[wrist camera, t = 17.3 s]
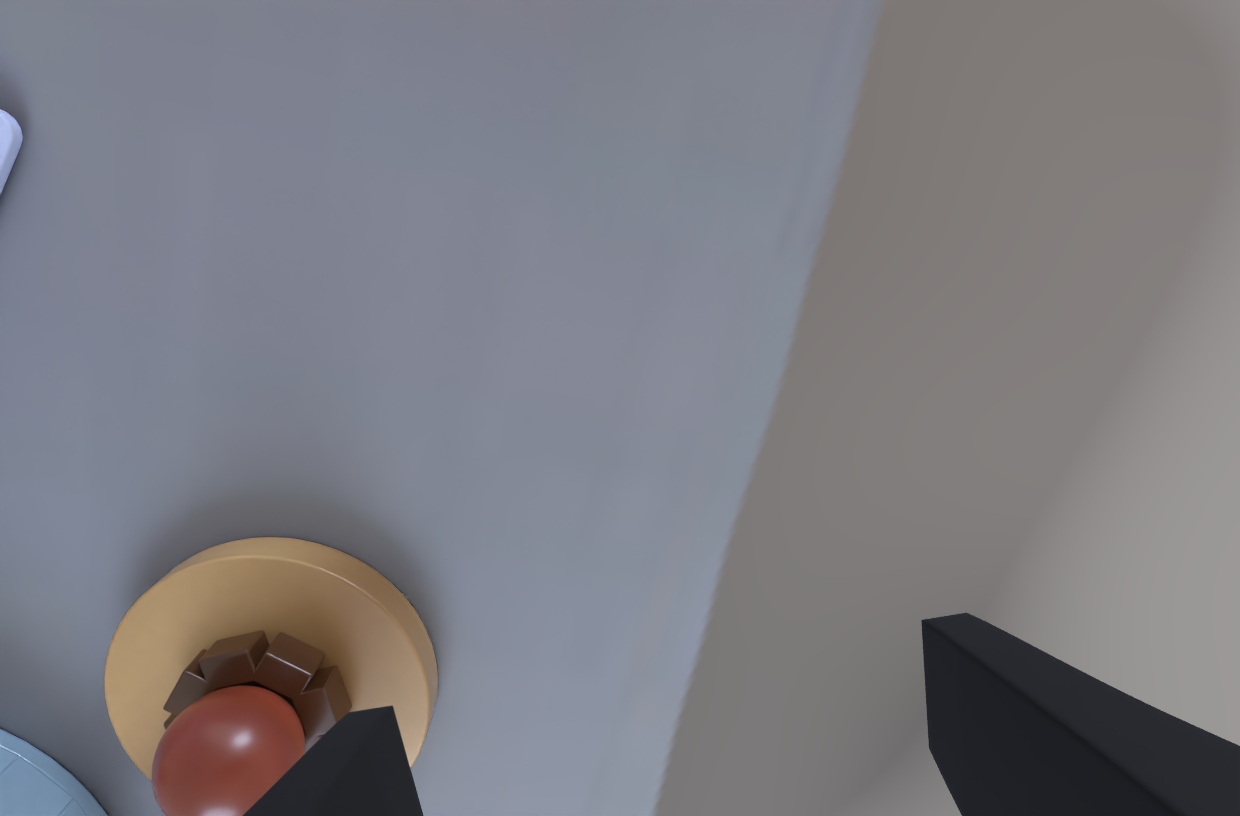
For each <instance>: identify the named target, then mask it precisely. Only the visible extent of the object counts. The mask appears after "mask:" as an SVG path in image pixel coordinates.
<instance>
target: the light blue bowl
mask: <svg viewBox="0 0 1240 816" xmlns="http://www.w3.org/2000/svg"><path fill="white" fill-rule="evenodd" d="M0 816H108V815H107V814H106V812H105V811H104V810H103V808H102V807H101V806H100V805H99V803H98V802H97V801H96V799H95V798H94V797H93V795H92V794H91V793H90V792H89V791H88V790H87V789H86V788H85V787H84V786H83V785H82V784H81V783H80V782H79V781H78V780H77V779H76V778H75V777H74V776H73V775H72V774H71V773H70V772H68V771H67V770H66V769H65V768H63V767H62V766H61V765H60V764H58V763H57V762H56V761H55V760H53V759H52V758H51V757H49V756H48V755H46V754H45V753H43V752H42V751H40V750H38V749H37V748H35V747H34V746H32V745H31V744H29V743H28V742H26V741H24V740H22V739H20V738H18V737H16V736H14V735H12V734H10V733H8V732H6V731H4V730H2V729H0Z"/></svg>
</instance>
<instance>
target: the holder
mask: <svg viewBox="0 0 1240 816" xmlns="http://www.w3.org/2000/svg"><path fill="white" fill-rule="evenodd" d="M232 686H255V687H260V688H264V689H267V690H269V691H272V692H274V693H276V694H277V695H279V696H280V697H282V698H283V699H284V700H286V701H287V702H288V703H289V704H290V705H291V706H292V708H293V709H294V711H295V712H296V714H297V716H298V717H299V719H300V722H301V724H302V727H303V732H304V736H305V753H306V752H307V751H308V750H309V749H310V748H311V747H312V746H313V745H314V744H315V743H316V742H317V741H318V740H319V739H320V738H321V737H322V736H323V735H324V734H325V733H326V732H327V731H328V730H330V729H331V728H332V727H333V726H334V725H335V724H336V723H337V722H338V721H339V720H340V719H342V718H343V717H344V716H345V715H346V714H347V713H348V712H354V711H360V710H366V709H372V708H379V707H385V706H391V705H393V708H394V712H395V715H396V719H397V722H398V726H399V730H400V733H401V737H402V740H403V744H404V748H405V751H406V755H407V759H408V762H409V766H410V769H411V768H412V766H413V765H414V763H415V761H416V759H417V757H418V756H419V754H420V752H421V749H422V746H423V744H424V741H425V738H426V735H427V732H428V729H429V726H430V723H431V719H432V716H433V713H434V709H435V704H436V699H437V690H438V673H437V663H436V658H435V654H434V650H433V646H432V643H431V641H430V638H429V636H428V633H427V631H426V628H425V626H424V624H423V623H422V621H421V619H420V617H419V616H418V614H417V612H416V611H415V609H414V608H413V607H412V605H411V604H410V603H409V602H408V600H407V599H406V598H405V596H404V595H403V594H402V593H401V592H400V591H399V590H398V589H397V588H396V587H395V586H394V585H393V584H392V583H391V582H390V581H389V580H387V579H386V578H385V577H384V576H382V575H381V574H380V573H378V572H377V571H376V570H375V569H373V568H372V567H370V566H368V565H367V564H365V563H363V562H362V561H360V560H358V559H357V558H355V557H353V556H350V555H348V554H346V553H344V552H342V551H339V550H337V549H334V548H331V547H328V546H325V545H322V544H319V543H315V542H310V541H305V540H300V539H294V538H282V537H259V538H248V539H242V540H236V541H230V542H227V543H224V544H220V545H217V546H213V547H211V548H208V549H206V550H204V551H202V552H199V553H197V554H195V555H193V556H191V557H190V558H188V559H187V560H185V561H183V562H182V563H180V564H178V565H177V566H176V567H175V568H173V569H172V570H171V571H170V572H169V573H167V574H166V575H165V576H164V577H163V578H162V579H160V580H159V581H158V582H157V583H156V584H154V585H153V586H152V587H151V588H150V589H149V590H147V591H146V592H145V593H144V594H143V595H142V596H140V597H139V599H138V600H137V601H136V602H135V603H134V604H133V605H132V607H131V608H130V609H129V610H128V611H127V613H126V614H125V616H124V617H123V619H122V621H121V622H120V624H119V625H118V627H117V629H116V632H115V634H114V636H113V639H112V641H111V643H110V647H109V651H108V655H107V659H106V663H105V674H104V689H105V700H106V705H107V709H108V713H109V717H110V720H111V723H112V725H113V728H114V730H115V733H116V735H117V737H118V739H119V741H120V742H121V744H122V746H123V748H124V750H125V751H126V753H127V754H128V756H129V757H130V758H131V760H132V761H133V762H134V764H135V765H136V766H137V768H138V769H139V770H140V771H141V772H142V773H143V774H144V775H145V776H146V777H147V778H148V779H149V780H150V781H151V782H152V764H153V760H154V756H155V752H156V749H157V747H158V744H159V742H160V740H161V738H162V736H163V734H164V732H165V731H166V729H167V728H168V726H169V725H170V724H171V722H172V721H173V720H174V719H175V718H176V717H177V716H178V715H179V714H180V713H181V712H182V711H183V710H184V709H185V708H186V707H187V706H189V705H190V704H191V703H193V702H194V701H196V700H197V699H199V698H201V697H203V696H205V695H207V694H209V693H211V692H213V691H216V690H219V689H222V688H227V687H232Z"/></svg>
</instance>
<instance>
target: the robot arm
mask: <svg viewBox="0 0 1240 816" xmlns="http://www.w3.org/2000/svg"><path fill="white" fill-rule="evenodd" d="M22 139H23V136H22V132H21V128H20V126H19V124H18V123H17V121H16V120H15V119H14V118H13V117H12V116H11V115H9V114H8V113H7V112H5V111H3V110H2V109H0V195H1V193H2V190H3V188H4V185H5V183H6V181H7V178H8V176H9V174H10V171H11V169H12V166H13V164H14V162H15V159H16V157H17V155H18V152H19V150H20V147H21V144H22ZM922 636H923V653H924V670H925V686H926V704H927V720H928V738H929V749H930V751H931V753H932V755H933V757H934V760H935V762H936V764H937V766H938V768H939V770H940V772H941V774H942V776H943V778H944V781H945V783H946V785H947V787H948V789H949V791H950V793H951V794H952V797H953V799H954V801H955V803H956V805H957V807H958V809H959V811H960V813H961V815H962V816H1240V746H1239V745H1236V744H1234V743H1232V742H1230V741H1227V740H1225V739H1223V738H1220V737H1218V736H1216V735H1214V734H1212V733H1209V732H1207V731H1205V730H1203V729H1200V728H1198V727H1196V726H1194V725H1191V724H1190V723H1187V722H1185V721H1183V720H1181V719H1178V718H1176V717H1174V716H1172V715H1170V714H1167V713H1165V712H1163V711H1161V710H1159V709H1157V708H1155V707H1152V706H1151V705H1148V704H1146V703H1144V702H1142V701H1140V700H1138V699H1136V698H1134V697H1132V696H1130V695H1128V694H1126V693H1124V692H1122V691H1120V690H1118V689H1116V688H1114V687H1112V686H1109V685H1107V684H1106V683H1104V682H1101V681H1099V680H1098V679H1096V678H1094V677H1092V676H1090V675H1088V674H1086V673H1084V672H1082V671H1080V670H1078V669H1076V668H1074V667H1072V666H1070V665H1068V664H1066V663H1064V662H1063V661H1061V660H1059V659H1056V658H1055V657H1053V656H1051V655H1049V654H1047V653H1045V652H1043V651H1042V650H1039V649H1038V648H1036V647H1034V646H1032V645H1030V644H1028V643H1026V642H1024V641H1022V640H1021V639H1019V638H1017V637H1015V636H1013V635H1011V634H1009V633H1007V632H1005V631H1003V630H1001V629H999V628H997V627H995V626H993V625H991V624H990V623H987V622H985V621H983V620H981V619H979V618H977V617H975V616H972V615H970V614H968V613H962V614H956V615H950V616H944V617H938V618H931V619H925V620H922ZM243 816H423V813H422V809H421V805H420V802H419V798H418V795H417V791H416V787H415V784H414V780H413V777H412V773H411V769H410V766H409V762H408V759H407V755H406V751H405V748H404V744H403V740H402V737H401V733H400V730H399V726H398V722H397V719H396V715H395V712H394V708H393V705H391V706H385V707H379V708H372V709H366V710H360V711H354V712H348V713H347V714H346V715H345V716H344V717H343V718H342V719H340V720H339V721H338V722H337V723H336V724H335V725H334V726H333V727H332V728H331V729H330V730H328V731H327V732H326V733H325V734H324V735H323V736H322V737H321V738H320V739H319V740H318V741H317V742H316V743H315V744H314V745H313V746H312V747H311V748H310V749H309V750H308V751H307V752H306V753H305V754H304V755H303V756H302V757H301V758H300V759H299V760H298V761H297V762H296V763H295V764H294V765H293V766H292V767H291V768H290V769H289V770H288V771H287V772H286V773H285V774H284V775H283V776H282V777H281V778H280V779H279V780H278V781H277V782H276V783H275V784H274V785H273V786H272V787H271V788H270V789H269V790H268V791H267V792H266V793H265V794H264V795H263V796H262V797H261V798H260V799H259V800H258V801H257V802H256V803H255V804H254V805H253V806H252V807H251V808H250V809H249V810H248V811H247V812H246V813H245V814H244V815H243Z"/></svg>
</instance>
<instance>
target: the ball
mask: <svg viewBox="0 0 1240 816" xmlns="http://www.w3.org/2000/svg"><path fill="white" fill-rule="evenodd" d="M304 754H305V736H304V732H303V727H302V724H301V722H300V719H299V717H298V716H297V714H296V712H295V711H294V709H293V708H292V706H291V705H290V704H289V703H288V702H287V701H286V700H284V699H283V698H282V697H280V696H279V695H277V694H276V693H274V692H272V691H269V690H267V689H264V688H260V687H255V686H232V687H227V688H222V689H219V690H216V691H213V692H211V693H209V694H207V695H205V696H203V697H201V698H199V699H197V700H196V701H194V702H193V703H191V704H190V705H189V706H187V707H186V708H185V709H184V710H183V711H182V712H181V713H180V714H179V715H178V716H177V717H176V718H175V719H174V720H173V721H172V722H171V724H170V725H169V726H168V728H167V729H166V731H165V732H164V734H163V736H162V738H161V740H160V742H159V744H158V747H157V749H156V752H155V756H154V760H153V764H152V786H153V791H154V795H155V798H156V800H157V803H158V805H159V807H160V808H161V810H162V811H163V813H164V814H165V815H166V816H243V815H244V814H245V813H246V812H247V811H248V810H249V809H250V808H251V807H252V806H253V805H254V804H255V803H256V802H257V801H258V800H259V799H260V798H261V797H262V796H263V795H264V794H265V793H266V792H267V791H268V790H269V789H270V788H271V787H272V786H273V785H274V784H275V783H276V782H277V781H278V780H279V779H280V778H281V777H282V776H283V775H284V774H285V773H286V772H287V771H288V770H289V769H290V768H291V767H292V766H293V765H294V764H295V763H296V762H297V761H298V760H299V759H300V758H301V757H302V756H303V755H304Z"/></svg>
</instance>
